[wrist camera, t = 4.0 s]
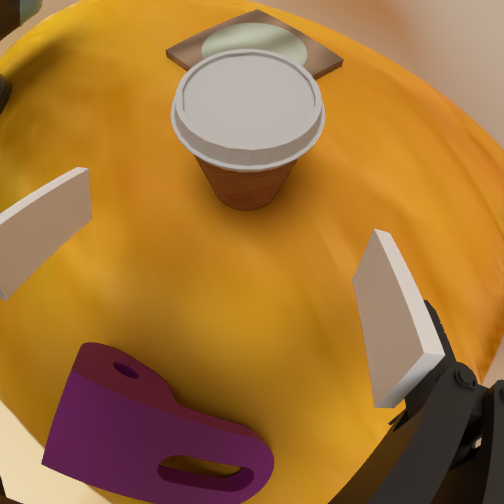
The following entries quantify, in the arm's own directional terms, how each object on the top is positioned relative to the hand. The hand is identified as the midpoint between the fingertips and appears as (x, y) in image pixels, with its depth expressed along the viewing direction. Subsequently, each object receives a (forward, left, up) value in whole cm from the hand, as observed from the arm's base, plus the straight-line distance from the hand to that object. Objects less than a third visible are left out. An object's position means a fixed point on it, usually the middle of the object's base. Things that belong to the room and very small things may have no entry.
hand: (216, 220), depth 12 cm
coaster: (-18, +20, -13) cm, 30 cm away
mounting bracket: (+8, -14, -13) cm, 21 cm away
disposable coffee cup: (-5, +7, -13) cm, 16 cm away
